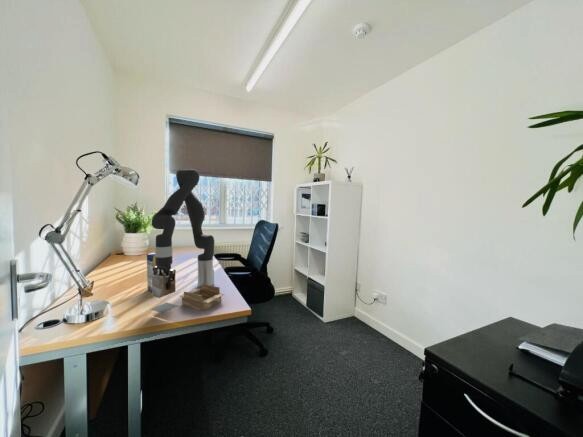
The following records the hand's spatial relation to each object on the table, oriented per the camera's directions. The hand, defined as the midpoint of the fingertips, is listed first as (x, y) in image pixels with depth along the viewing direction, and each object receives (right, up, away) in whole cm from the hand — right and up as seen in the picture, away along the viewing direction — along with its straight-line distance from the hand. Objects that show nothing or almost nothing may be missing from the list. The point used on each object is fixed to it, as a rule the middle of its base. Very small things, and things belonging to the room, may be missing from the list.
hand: (164, 288), depth 115 cm
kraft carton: (+17, -10, +7) cm, 21 cm away
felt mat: (0, -10, +1) cm, 10 cm away
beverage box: (-19, -9, +28) cm, 35 cm away
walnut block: (0, -3, 0) cm, 3 cm away
